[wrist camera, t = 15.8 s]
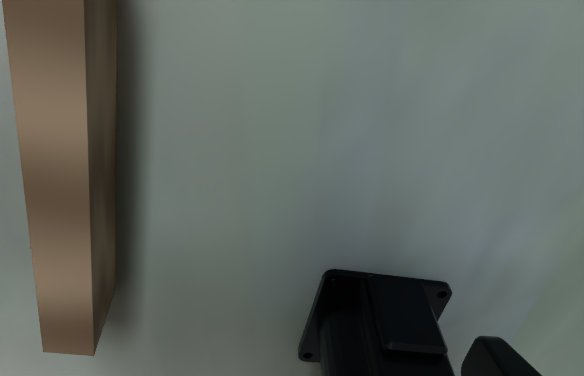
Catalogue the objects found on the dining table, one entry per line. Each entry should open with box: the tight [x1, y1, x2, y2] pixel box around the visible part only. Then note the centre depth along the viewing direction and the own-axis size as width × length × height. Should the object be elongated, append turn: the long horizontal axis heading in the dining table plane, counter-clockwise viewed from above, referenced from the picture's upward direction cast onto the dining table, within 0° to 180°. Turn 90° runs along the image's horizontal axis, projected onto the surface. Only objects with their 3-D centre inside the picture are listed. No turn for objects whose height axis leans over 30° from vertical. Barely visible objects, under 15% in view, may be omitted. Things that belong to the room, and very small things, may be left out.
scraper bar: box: [2, 0, 117, 356], centre depth 18 cm, size 16×2×4 cm, turn 169°
